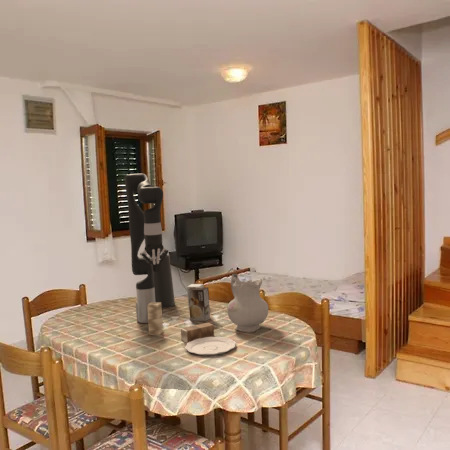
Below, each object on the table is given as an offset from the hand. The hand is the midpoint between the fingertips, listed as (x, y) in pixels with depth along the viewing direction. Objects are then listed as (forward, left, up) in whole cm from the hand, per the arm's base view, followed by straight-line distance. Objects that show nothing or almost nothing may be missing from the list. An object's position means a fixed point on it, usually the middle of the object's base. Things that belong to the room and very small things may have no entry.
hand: (155, 272), depth 200 cm
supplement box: (-19, +54, -31) cm, 65 cm away
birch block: (-9, +8, -31) cm, 33 cm away
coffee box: (-3, +35, -31) cm, 46 cm away
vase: (-41, +51, -31) cm, 72 cm away
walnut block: (+10, +4, -28) cm, 30 cm away
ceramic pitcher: (+26, +32, -31) cm, 51 cm away
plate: (+26, +2, -31) cm, 41 cm away
